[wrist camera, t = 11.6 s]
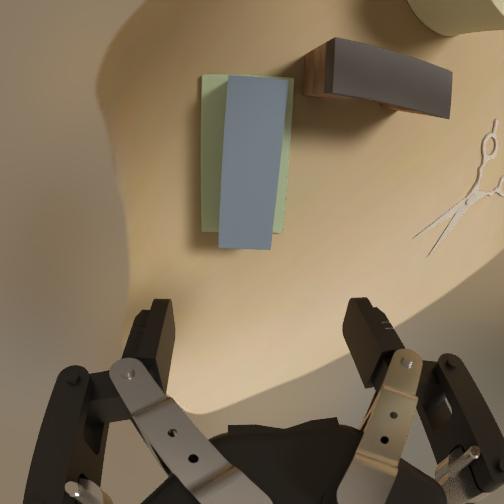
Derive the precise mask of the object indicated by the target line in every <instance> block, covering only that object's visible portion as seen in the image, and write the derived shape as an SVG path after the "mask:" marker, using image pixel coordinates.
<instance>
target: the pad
mask: <svg viewBox="0 0 504 504" xmlns="http://www.w3.org/2000/svg"><path fill="white" fill-rule="evenodd" d="M228 75H237V76H251V77H263V78H273V79H282V80H288V91H287V101H286V111H285V121H284V131H283V141H282V151H281V160H280V169H279V179H278V188H277V197H276V206H275V214H274V223H273V232H272V233H283V227H284V216H285V205H286V193H287V180H288V167H289V154H290V140H291V125H292V109H293V92H294V78H288V77H277V76H262V75H239V74H202V96H201V232H219V218H220V196H221V176H222V159H223V142H224V127H225V113H226V99H227V87H228Z"/></svg>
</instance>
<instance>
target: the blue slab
mask: <svg viewBox="0 0 504 504" xmlns="http://www.w3.org/2000/svg"><path fill="white" fill-rule="evenodd" d="M287 91H288V80H282V79H273V78H263V77H251V76H237V75H228V87H227V99H226V113H225V127H224V142H223V159H222V176H221V196H220V218H219V243H218V248H232V249H257V250H270V249H271V240H272V232H273V223H274V214H275V206H276V197H277V188H278V179H279V169H280V160H281V151H282V141H283V131H284V121H285V111H286V101H287Z"/></svg>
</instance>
